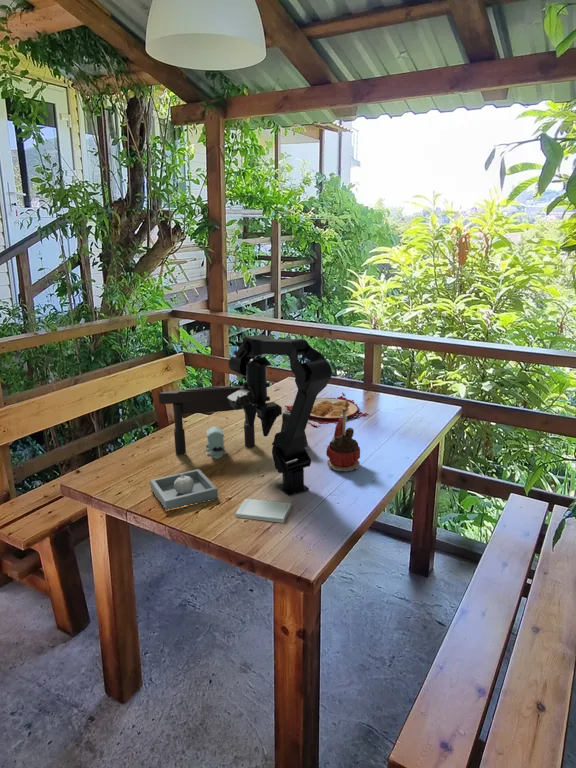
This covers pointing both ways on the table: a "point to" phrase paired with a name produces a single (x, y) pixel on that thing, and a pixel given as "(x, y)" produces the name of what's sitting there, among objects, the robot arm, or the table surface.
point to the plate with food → (332, 410)
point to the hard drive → (264, 510)
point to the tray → (173, 499)
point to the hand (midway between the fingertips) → (258, 431)
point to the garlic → (183, 484)
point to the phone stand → (284, 423)
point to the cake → (343, 447)
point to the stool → (201, 403)
